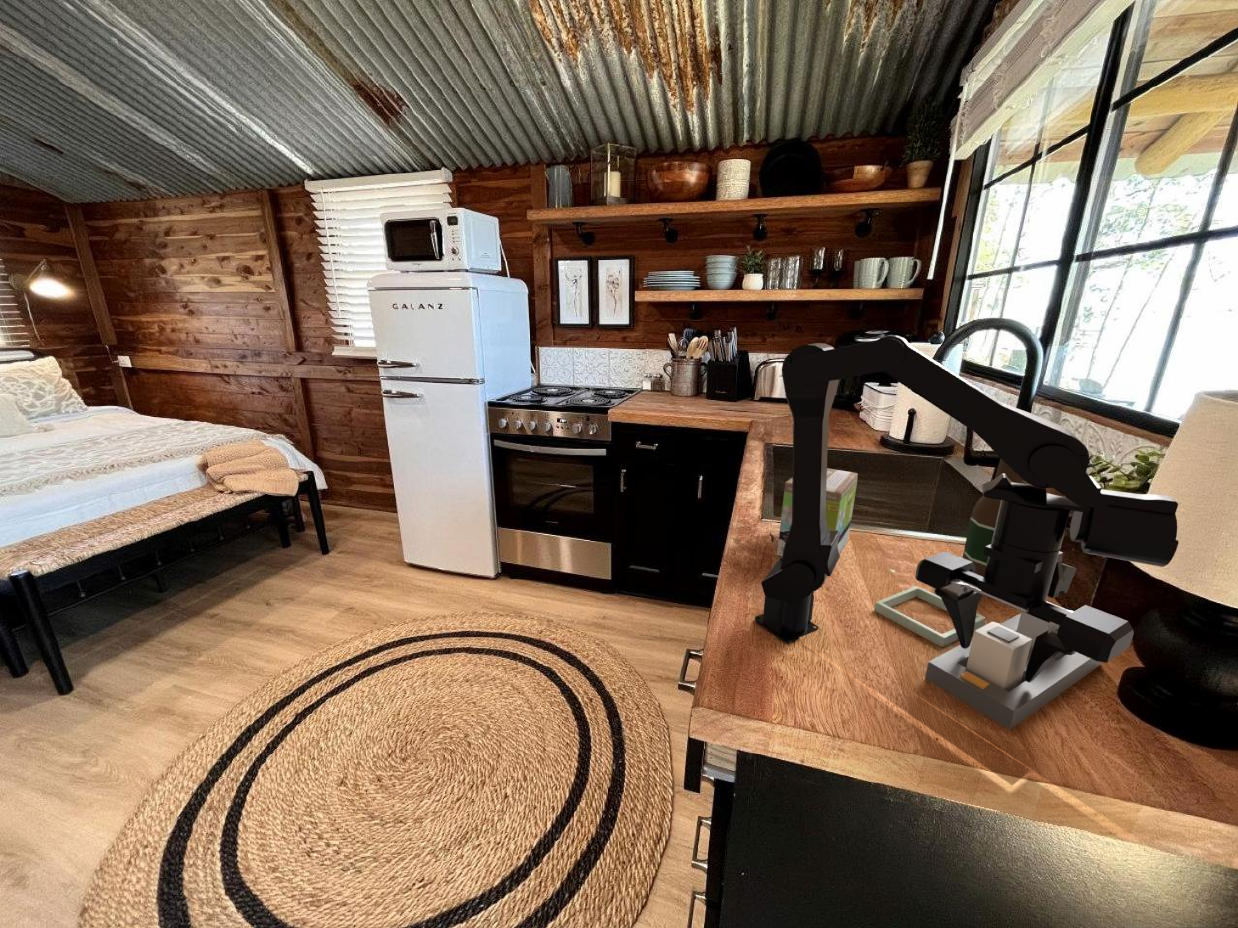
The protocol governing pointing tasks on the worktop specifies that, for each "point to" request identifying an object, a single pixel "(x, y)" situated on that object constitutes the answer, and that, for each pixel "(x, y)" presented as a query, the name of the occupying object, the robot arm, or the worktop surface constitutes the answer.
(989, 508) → the beer bottle
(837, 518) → the tea box
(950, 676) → the strip
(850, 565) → the worktop surface
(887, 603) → the tray
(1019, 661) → the iec plug
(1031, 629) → the twin plug
